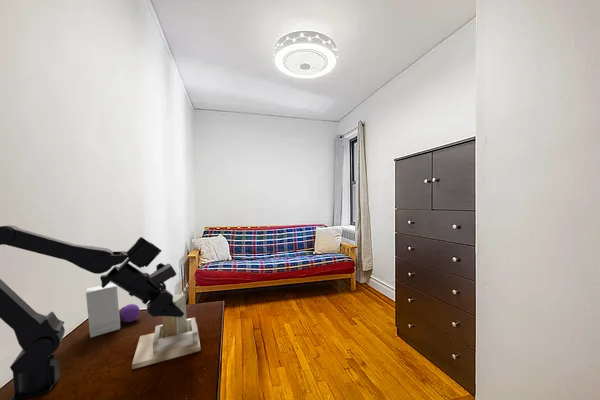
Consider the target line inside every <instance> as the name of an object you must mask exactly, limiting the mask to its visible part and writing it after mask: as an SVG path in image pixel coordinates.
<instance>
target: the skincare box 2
mask: <svg viewBox="0 0 600 400" xmlns="http://www.w3.org/2000/svg"><path fill="white" fill-rule="evenodd" d="M172 295H173V303H174V304H175V305H176V306H177V307H178V308H179V309H180V310H181V311H182V312H183V313H184V315H183V316H182V317H172V316H161V322H162V324H163V338H166V337H170V336H174V335H178V334H183V333H187V319H188V317H187V304H186V294H185V293H183V294H182V293H181V294H172ZM162 324H161V325H162Z"/></svg>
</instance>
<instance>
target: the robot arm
mask: <svg viewBox="0 0 600 400" xmlns="http://www.w3.org/2000/svg"><path fill="white" fill-rule="evenodd" d="M2 245H5V246H9V247H13V248H18V249H21V250H25V251H29V252H33V253H36V254H40V255H41V254H42V255H44V256H48V257H52V258H55V259H60V260H64V261H66V262H69V263H72V264H73V265H74V266H76V267H78V268H80V269H82V270H85V271H86V272H89V273H92V274H95V275H99V274H101V275H100V277H99V279H100V281H101V285H102V286H101V285H100V286H101V287H102V288H104V287H105V286H106V285H107V284H110V283H114V284H115V285H117V287H119V288H120V289H122V290H123V291H125V292H127V293H128V296H130V297H135V298H136V299H139V300H140V301H141V302H142V304H143V305H146V311H147V314H148V315H150V316H152V317H153V318H155V317H156V318H157V317H162V316H172V317H182V316H183V315H184V313H183V312H182V311H181V310H180V309H179V308H178V307H177V306H176V305H175V304H174V303H173V295H174V294H173V293H171V292H170V291H169V290H167V286H166V285H167V284H166V283H165V282H167V281H169V279H171V278H174V277H175V276H176V275H177V273H176V271H175V269H174V267H173V266H172V265H171V263H166V264H164V263H163V262H160V263H158V264H156V266H155V270H154V271H153V272H152V273H150V274H149V273H148V272H143V271H141V270H140V269H142V268H144V267H145V268H148V267H149V266H150V264H152V262H153V261H154V260H155V259H156V258H157V257H158V256H159V255H160V253H161V252H162V251H163V250H162V249H160V248H159V247H158V246H157V245H155V244H154V243H152V242H150V241H149V240H147V239H145V238H144V237H143V236H140V237H139V238H138V239H137V240H136V241H135V243H134V244H133V245H132V246H131V247H130V248H129V249H128V250H126V251H122V250H121V251H113V250H111V249H109V248H107V247H100V246H92V245H83V244H82V245H80V244H75V243H71V242H68V241H65V240H64V241H63V240H61V239H57V238H54V237H50V236H47V235H43V234H41V233H36V232H32V231H29V230H27V229H26V230H25V229H23V228H20V227H18V226H17V225H11V224H8V225H0V246H2ZM130 263H132V264H133V265H135V266H136V267H135V266H133V265H132V264H130ZM120 264H121V265H120ZM117 265H119V266H117ZM138 268H139V269H138ZM106 272H108V273H107V274H104V273H106ZM102 274H103V275H102ZM0 319H1V320H2V321H3V322H4V323H5V324H6V325H8V327H9V328H11V329H12V330H13V332H14V335H15V337H16V340H17V343H18V345H19V346H20V347H21V351H20V353H18V355H17V357H16V358H15V360H13V362H12V363H11V365H10V366H9V369H10V370H11V371H12V380H13V382H12V383H13V395H12V396H11V398H9V400H20V399H21V400H24V398H25V399H29V398H32V397H35V396H39V395H41V394H46V393H49V392H50V390H52V389H53V386H54V385H55V384H56V383H57V381H58V380H59V379H60V376H61V374H60V361H59V360H58V359H57V358H56V357H57V356H56V353H55V352H56V351H57V350H58V348H59V347H60V345H61V342H62V341H63V338H64V337H65V336H64V335H65V332H66V331H65V330H66V329H65V327H64V324H65V321H63V320H61V319H59V318H58V317H57V316H56V314H55V313H54V311H50V312H49V313H48V314H46V315H45V314H41V313H39V312H36V311H35V309H33V307H31V306H30V305H29V304H28V303H27V302H26V301H25V300H24V299H23V298H22V297H20V295H18V293H16V292H15V291H14V290H13V288H11V287H10V286H9V285H7V284H6V283H5V281H3V279H1V278H0Z"/></svg>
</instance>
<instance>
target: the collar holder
mask: <svg viewBox="0 0 600 400" xmlns="http://www.w3.org/2000/svg"><path fill="white" fill-rule="evenodd" d="M199 335H200V334H199V329H198V324H197V321H196V317H190V318H187V333H183V334H178V335H174V336H170V337H166V338H163V324H159V325H158V324H157V325H155V330H154V332H153V333H149V334H147V333H146V334H144V335H140V336H139V339H138V343H137V345H136V350H135V353H134V356H133V359H132V364H131V370H135V369H139V368H143V367H146V366H149V365H153V364H156V363H160V362H164V361H165V362H166V361H168V360H172V359H176V358H179V357H183V356H186V355H191V354H193V353H197V352H200V351H201V349H202V348H201V342H200V336H199Z"/></svg>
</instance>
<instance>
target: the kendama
mask: <svg viewBox="0 0 600 400" xmlns="http://www.w3.org/2000/svg"><path fill="white" fill-rule="evenodd" d="M140 314H141V310H140V307H139V306H138V305H137V304H134V303H133V304H132V303H130V304H127V305H124V306H123V307H122V308H119V317H120V319H121V320H120V321H123V322H124V323H132V322H135V321H136V320H137V319H138V318H139V316H140Z"/></svg>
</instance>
